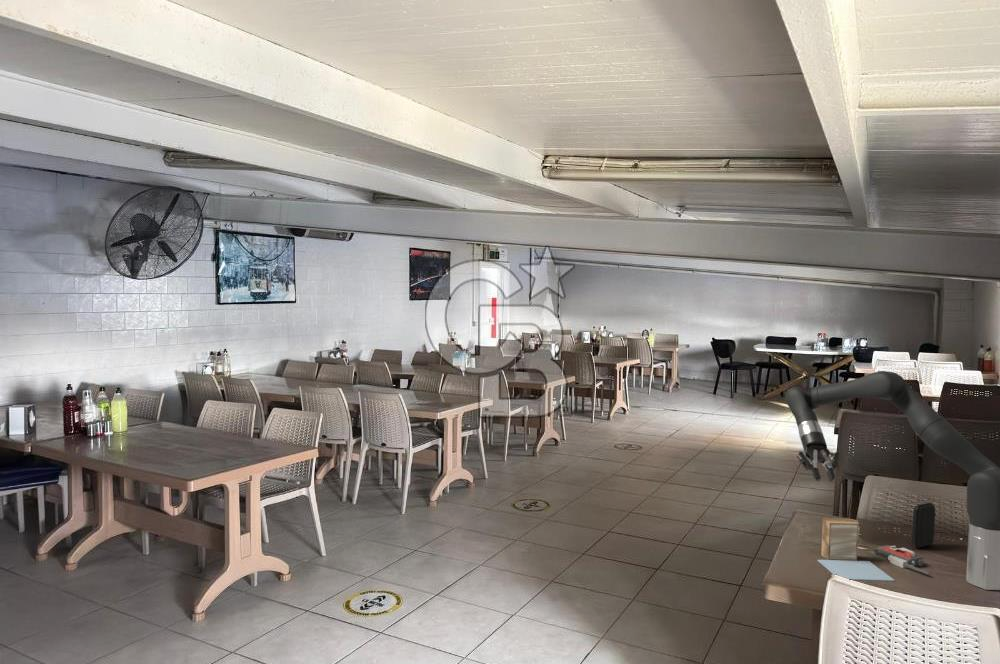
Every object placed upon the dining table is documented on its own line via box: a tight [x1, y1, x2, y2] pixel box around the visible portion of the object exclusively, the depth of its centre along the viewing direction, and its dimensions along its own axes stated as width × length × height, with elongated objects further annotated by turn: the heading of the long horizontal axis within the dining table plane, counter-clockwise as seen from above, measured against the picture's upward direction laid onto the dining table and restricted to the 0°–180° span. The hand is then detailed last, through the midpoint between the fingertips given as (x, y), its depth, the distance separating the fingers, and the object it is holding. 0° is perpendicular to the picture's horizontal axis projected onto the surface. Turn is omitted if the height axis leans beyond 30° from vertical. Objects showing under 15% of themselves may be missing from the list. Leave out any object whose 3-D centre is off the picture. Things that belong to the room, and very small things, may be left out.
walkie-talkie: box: [873, 544, 931, 576], centre depth 220 cm, size 9×4×20 cm
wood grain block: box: [820, 517, 860, 561], centre depth 224 cm, size 5×9×12 cm, turn 89°
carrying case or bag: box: [911, 502, 936, 549], centre depth 236 cm, size 11×3×15 cm, turn 118°
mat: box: [817, 559, 896, 582], centre depth 213 cm, size 15×16×1 cm
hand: (825, 479), depth 235 cm, fingers open, 3 cm apart
